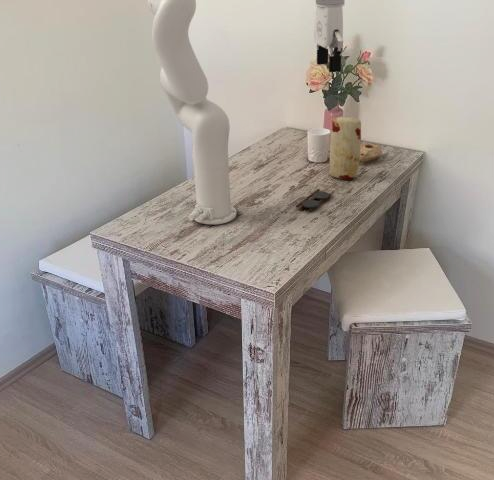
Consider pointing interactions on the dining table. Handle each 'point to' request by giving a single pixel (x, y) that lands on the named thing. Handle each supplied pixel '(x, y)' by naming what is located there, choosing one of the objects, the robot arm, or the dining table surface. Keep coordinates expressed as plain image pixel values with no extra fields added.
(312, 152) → the white cup
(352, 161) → the food model
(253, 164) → the dining table surface
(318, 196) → the sunglasses
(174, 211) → the dining table surface
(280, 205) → the dining table surface
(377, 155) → the pottery oil lamp
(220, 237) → the dining table surface
